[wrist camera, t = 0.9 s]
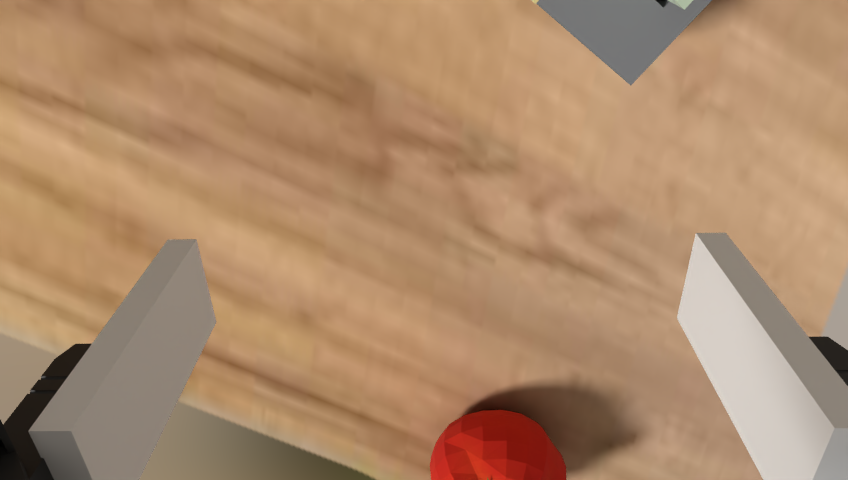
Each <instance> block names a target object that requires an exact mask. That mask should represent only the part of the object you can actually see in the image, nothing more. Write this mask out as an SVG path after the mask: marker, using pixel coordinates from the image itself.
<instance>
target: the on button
mask: <svg viewBox="0 0 848 480" xmlns="http://www.w3.org/2000/svg"><path fill="white" fill-rule="evenodd" d="M668 1H670V2H672V3H673V4H675V5H677V6H679V7H681V8H682V9H684V10H685V9H686V8H687V7H688V5H689V4H690V3H691V2H692V1H693V0H668Z"/></svg>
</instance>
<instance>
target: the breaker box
mask: <svg viewBox="0 0 848 480" xmlns="http://www.w3.org/2000/svg"><path fill="white" fill-rule="evenodd" d="M532 1H533V2H534V3H535V4H537V5H539V6H540V7H541V8H542V9H543V10H544V11H546V12H547V13H548V14H549V15H550V16H551V17H552V18H554V19H555V20H556V21H557V22H558V23H559V24H561V25H562V26H563V27H564V28H565V29H566V30H567V31H569V32H570V33H571V34H572V35H573V36H574V37H576V38H577V39H578V40H579V41H580V42H581V43H582V44H584V45H585V46H586V47H587V48H588V49H589V50H590V51H592V52H593V53H594V54H595V55H596V56H597V57H599V58H600V59H601V60H602V61H603V62H604V63H605V64H607V65H608V66H609V67H610V68H611V69H612V70H614V71H615V72H616V73H617V74H618V75H619V76H620V77H622V78H623V79H624V80H625V81H626V82H627V83H629V84H630V85H632V84H633V83H634V82H635V81H636V79H637V78H638V77H639V76H640V75H641V74H642V73H643V72H644V71H645V70H646V69H647V68H648V67H649V66H650V65H651V64H652V63H653V62H654V61H655V60H656V58H657V57H658V56H659V55H660V54H661V53H662V52H663V51H664V50H665V49H666V48H667V47H668V46H669V45H670V44H671V43H672V42H673V41H674V40H675V39H676V37H677V36H678V35H679V34H680V33H681V32H682V31H683V30H684V29H685V28H686V27H687V26H688V25H689V24H690V23H691V22H692V21H693V20H694V19H695V18H696V16H697V15H698V14H699V13H700V12H701V11H702V10H703V9H704V8H705V7H706V6H707V5H708V4H709V3H710V2H711V1H712V0H693V1H692V2H691V3H690V4H689V5H688V7H687V8H686V9H685V10H684V9H682V8H681V7H679V6H677V5H675V4H673V3H672V2H670V1H668V0H532Z"/></svg>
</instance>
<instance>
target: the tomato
mask: <svg viewBox="0 0 848 480" xmlns="http://www.w3.org/2000/svg"><path fill="white" fill-rule="evenodd" d="M430 471H431V480H566V466H565V463H564V460H563V458H562V455H561V454H560V452H559V451H558V450H557V449H556V447H555V446H554V445H553V443H552V442H551V440H550V439H549V437H548V436H547V434H546V432H545V431H544V429H543V428H542V427H541V426H540V425H539V424H538V423H537V422H536V421H534V420H532V419H530V418H528V417H526V416H525V415H523V414H521V413H516V412H511V411H506V410H486V411H479V412H475V413H471V414H467V415H464V416H462V417H460V418H459V419H457V420H455V421H454V422H452V423H451V424H449V426H448V427H447V428H446V429H445V431H444V432H443V433H442V434H441V436H440V437H439V439H438V440H437V442H436V444H435V447H434V450H433V453H432V456H431V462H430Z"/></svg>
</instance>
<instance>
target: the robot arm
mask: <svg viewBox="0 0 848 480" xmlns="http://www.w3.org/2000/svg"><path fill="white" fill-rule="evenodd" d="M677 319H678V321H679V323H680V325H681V326H682V328H683V330H684V332H685V334H686V336H687V338H688V340H689V341H690V343H691V345H692V347H693V349H694V351H695V353H696V355H697V356H698V358H699V360H700V362H701V364H702V366H703V368H704V369H705V371H706V373H707V375H708V377H709V379H710V381H711V383H712V384H713V386H714V388H715V390H716V392H717V394H718V396H719V398H720V399H721V401H722V403H723V405H724V407H725V409H726V411H727V412H728V414H729V416H730V418H731V420H732V422H733V424H734V426H735V427H736V429H737V431H738V433H739V435H740V437H741V439H742V441H743V442H744V444H745V446H746V448H747V450H748V452H749V454H750V456H751V457H752V459H753V461H754V463H755V465H756V467H757V469H758V470H759V472H760V474H761V476H762V478H763V480H848V350H846V349H845V348H843V347H842V346H841V345H839V344H838V343H836V342H834V341H833V340H831V339H830V338H829V337H808V336H807V334H806V333H805V332H804V331H803V329H802V328H801V327H800V326H799V324H798V323H797V322H796V321H795V319H794V318H793V317H792V316H791V314H790V313H789V312H788V311H787V309H786V308H785V307H784V305H783V304H782V303H781V302H780V300H779V299H778V298H777V297H776V295H775V294H774V293H773V292H772V290H771V289H770V288H769V287H768V285H767V284H766V283H765V282H764V280H763V279H762V278H761V277H760V275H759V274H758V273H757V272H756V270H755V269H754V268H753V266H752V265H751V264H750V263H749V261H748V260H747V259H746V258H745V256H744V255H743V254H742V253H741V251H740V250H739V249H738V248H737V246H736V245H735V244H734V243H733V241H732V240H731V239H730V238H729V236H728V235H727V234H726V233H696V235H695V239H694V244H693V248H692V253H691V257H690V262H689V266H688V271H687V275H686V280H685V284H684V289H683V293H682V298H681V302H680V307H679V311H678V316H677ZM215 324H216V319H215V314H214V310H213V306H212V302H211V298H210V294H209V290H208V285H207V281H206V277H205V273H204V269H203V265H202V261H201V256H200V252H199V248H198V244H197V240H196V239H183V240H167V242H166V243H165V244H164V246H163V247H162V249H161V250H160V251H159V253H158V254H157V255H156V257H155V258H154V259H153V261H152V262H151V264H150V265H149V266H148V268H147V269H146V270H145V272H144V273H143V275H142V276H141V277H140V279H139V280H138V281H137V283H136V284H135V286H134V287H133V288H132V290H131V291H130V292H129V294H128V295H127V296H126V298H125V299H124V301H123V302H122V303H121V305H120V306H119V307H118V309H117V310H116V312H115V313H114V314H113V316H112V317H111V318H110V320H109V321H108V322H107V324H106V325H105V327H104V328H103V329H102V331H101V332H100V333H99V335H98V336H97V338H96V339H95V340H94V342H93V343H92V344H75V345H73V346H72V347H71V348H69V349H68V350H67V351H65V352H64V353H62V354H61V355H60V356H58V357H57V358H56V359H54V361H53V362H52V363H51V365H50V366H49V367H48V369H47V370H46V371H45V372H44V374H43V375H42V376H41V380H38V381H37V383H36V384H35V385H34V386H33V388H32V389H31V390H30V391H31V392H30V394H27V395H26V396H25V398H24V399H23V400H22V402H21V403H20V404H19V405H18V407H17V408H16V409H15V410H14V412H13V413H12V414H11V416H10V417H9V418H8V420H7V421H6V422H5V423H4V425H3V424H2V422H1V420H0V480H139V479H140V476H141V475H142V473H143V470H144V468H145V466H146V464H147V462H148V460H149V458H150V456H151V454H152V452H153V450H154V448H155V446H156V444H157V442H158V440H159V438H160V436H161V434H162V432H163V430H164V427H165V426H166V424H167V421H168V419H169V417H170V415H171V413H172V411H173V409H174V407H175V405H176V403H177V401H178V399H179V397H180V395H181V393H182V391H183V389H184V387H185V385H186V383H187V381H188V379H189V377H190V375H191V373H192V370H193V368H194V366H195V364H196V362H197V360H198V358H199V356H200V354H201V352H202V350H203V348H204V346H205V344H206V342H207V340H208V338H209V336H210V334H211V332H212V330H213V328H214V326H215Z"/></svg>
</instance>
